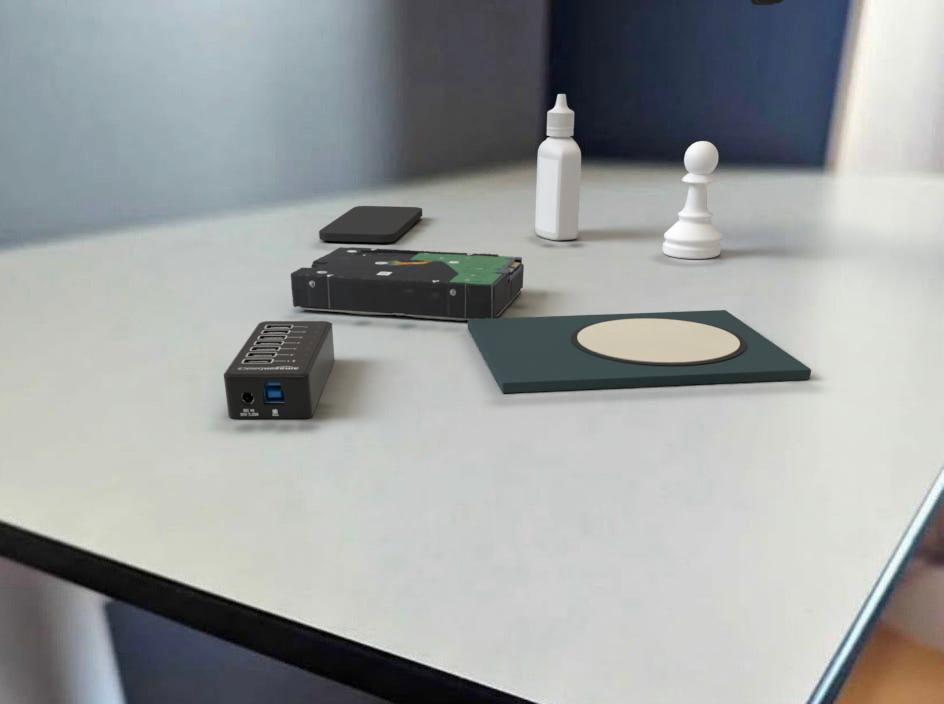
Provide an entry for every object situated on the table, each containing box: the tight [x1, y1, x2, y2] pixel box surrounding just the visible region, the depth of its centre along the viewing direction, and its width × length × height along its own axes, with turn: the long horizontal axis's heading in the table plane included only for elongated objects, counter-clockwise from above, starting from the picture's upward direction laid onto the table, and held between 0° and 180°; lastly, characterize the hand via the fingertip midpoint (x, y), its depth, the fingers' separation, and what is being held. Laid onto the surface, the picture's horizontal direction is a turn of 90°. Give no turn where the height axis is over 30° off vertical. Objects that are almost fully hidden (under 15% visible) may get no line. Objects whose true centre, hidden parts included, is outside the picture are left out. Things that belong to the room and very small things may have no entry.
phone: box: [318, 205, 423, 243], centre depth 100 cm, size 7×1×15 cm
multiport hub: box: [223, 320, 335, 420], centre depth 58 cm, size 4×11×2 cm, turn 0°
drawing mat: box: [467, 309, 812, 394], centre depth 64 cm, size 18×14×1 cm
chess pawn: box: [662, 140, 723, 260], centre depth 88 cm, size 5×5×9 cm
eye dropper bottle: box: [534, 93, 582, 241], centre depth 95 cm, size 4×6×12 cm
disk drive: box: [290, 246, 525, 322], centre depth 75 cm, size 10×3×15 cm
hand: (765, 4), depth 83 cm, fingers open, 8 cm apart
